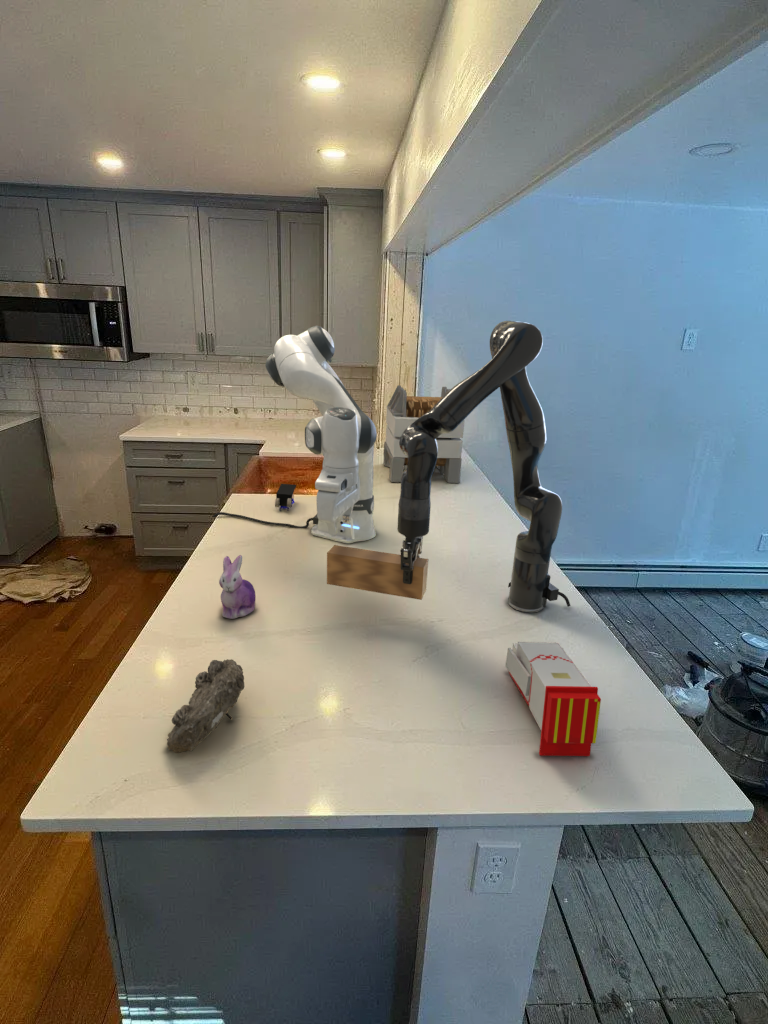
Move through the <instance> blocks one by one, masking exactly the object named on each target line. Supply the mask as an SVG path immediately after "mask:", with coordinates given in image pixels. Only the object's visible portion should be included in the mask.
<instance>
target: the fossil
mask: <svg viewBox="0 0 768 1024" xmlns="http://www.w3.org/2000/svg"><path fill="white" fill-rule="evenodd" d="M243 670H244V669H243V667H242V665H240V664H237V662H236V661H235V660H234V659H232V658H231V659H227V658H226V659H224V660H223V661H222V660H217V659H212V660H211V661H210V663H209V665H208V666H207V671H201V672H199V673H198V674H197V675H196V676H195V680H194V684H195V685H194V687H195V689H194V690H193V693H192V694H191V697H190V698H189V700H188V704H184V705H182V706H181V707H180V709H177V710H176V711H175V713H174V715H173V716H172V718H171V723H172V724H173V727H172V730H171V731H170V732H168V734H167V738H166V741H167V742H166V745H167V749H168V750H169V751H173V752H174V753H176V754H178V753H182V752H188V751H189V752H192V751H193V750H195V748H196V747H197V746H199V744H200V743H201V742H203V741H204V740H205V739H206V738H207V737H208V736H209V735H210V734H211V733H212V732H214V730H215V729H217V727H218V726H219V724H220V722H221V721H222V720H223V719H224V718H225V716H226V717H227V719H229V720H233V717H232V715H230V714H229V710H230V709H231V708H234V706H235V704H236V703H237V702H238V699H239V697H240V695H241V693H242V691H243V690H245V689H244V688H245V675H244V671H243Z"/></svg>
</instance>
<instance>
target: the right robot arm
mask: <svg viewBox="0 0 768 1024" xmlns="http://www.w3.org/2000/svg"><path fill="white" fill-rule="evenodd" d="M543 343H544V337H543V334H542V332H541V330H540V329H539V328H538V327H537V326H536V325H535V324H532V323H529V322H523V321H516V320H503V321H500V322H499V323H497V324H496V325H495V326H494V327H493V329H492V331H491V334H490V336H489V352H490V356H491V359H490V360H489V361H488V362H487V363H486V364H484V365H483V366H482V367H481V368H480V369H478V370H477V371H475V372H474V373H472V374H470V375H469V376H467V377H466V378H464V379H463V380H461V381H460V382H458V383H457V384H455V385H454V386H452V388H449V389H450V390H449V391H448V392H447V393H446V394H445V395H444V396H443V397H442V398H441V399H440V401H439V402H438V403H437V404H436V405H435V406H434V407H433V408H432V409H431V410H430V411H429V412H427V413H426V414H424V415H423V416H421V417H420V418H419V419H417V420H416V421H414V422H413V423H412V424H411V425H409V426H408V427H407V428H406V429H405V431H404V432H403V433H402V435H401V437H400V440H399V446H400V449H401V451H402V452H403V453H404V454H405V455H406V456H408V465H406V469H405V470H403V474H402V477H401V482H400V490H399V491H400V492H399V493H400V494H399V500H398V511H397V532H398V533H399V534H400V535H402V536H404V537H405V539H403V540H402V545H401V548H400V555H401V567H400V568H401V570H403V583H405V584H411V583H412V578H413V569H414V561H416V560H417V557H418V558H421V554H422V553H423V552H422V549H423V540H424V537H425V536H427V535H428V534H429V532H430V523H431V522H430V521H431V505H432V504H431V491H432V478H433V476H434V475H433V474H434V471H435V468H436V466H435V465H436V461H437V456H438V445H437V441H436V438H438V437H439V436H440V435H441V434H445V433H451V432H452V431H453V430H455V429H456V428H457V427H458V426H459V425H460V424H461V423H462V422H463V420H466V419H467V417H468V416H470V414H471V413H472V412H473V411H474V410H475V409H477V407H478V406H480V405H481V404H482V403H483V402H484V401H485V400H486V399H487V398H488V397H490V396H491V395H492V394H493V393H495V391H496V390H498V389H499V391H500V399H501V405H502V411H503V416H504V422H505V423H504V424H505V430H506V431H505V432H506V438H507V444H508V447H509V448H508V449H509V454H510V455H509V457H510V462H511V468H512V479H513V501H514V507H515V510H516V512H517V514H518V515H519V516H520V517H522V518H523V519H525V520H527V521H528V522H529V528H528V530H525V531H521V532H519V533H518V534H517V536H516V539H515V548H514V555H513V562H512V572H511V577H510V578H511V579H510V581H509V582H508V588H509V593H508V598H507V604H508V605H509V606H510V607H511V608H512V609H514V610H516V611H518V612H521V613H538V612H541V611H542V610H543V608H547V603H548V601H549V602H552V601H558V599H559V598H558V597H559V596H560V597H561V598H562V599H563V600H564V601H565V604H566V606H567V607H568V608H570V607H571V603H570V600H569V598H568V596H566V594H565V593H563V592H561V591H560V589H559V588H558V587H557V586H555V585H554V584H553V583H551V582H550V581H551V575H550V574H549V569H550V568H549V567H550V561H551V555H552V550H553V545H554V543H555V541H556V540H557V537H558V533H559V528H560V525H561V524H560V523H561V519H562V514H563V501H562V498H561V496H560V495H559V494H557V493H555V492H554V491H551V490H549V489H547V488H544V487H543V486H542V484H541V481H540V474H539V462H540V459H541V457H542V455H543V453H544V450H545V447H546V444H547V429H546V420H545V414H544V411H543V408H542V405H541V404H540V401H539V399H538V398H537V395H536V393H535V391H534V389H533V387H532V385H531V383H530V380H529V377H528V373H527V366H529V365H530V364H531V363H532V362H533V361H534V360H536V358H537V357H538V356H539V354H540V353H541V351H542V348H543ZM406 563H408V564H409V565H406Z"/></svg>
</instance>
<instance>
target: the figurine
mask: <svg viewBox="0 0 768 1024" xmlns="http://www.w3.org/2000/svg"><path fill="white" fill-rule="evenodd" d="M222 560H223V561H222V571H223V572H222V573H221V575H220V578H219V579H218V585H219V587H220V588H221V589H222V591H221V593H220V602H221V605H222V614H221V615H222V617H223V618H226V619H237V618H241V617H245V616H247V615H249V614H251V613H253V612H254V611H255V607H256V590H255V588H254V586H253V585H254V584H252V583H251V582H250V581H249V580H247V579H243V577H242V575H241V573H240V570H241V568H242V564H243V555H241V554H239V555H237V557H236V558H234V560H233V562H232V561H231V558H230V556H228V555H226V556H224V557H223V559H222Z"/></svg>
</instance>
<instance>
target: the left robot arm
mask: <svg viewBox="0 0 768 1024" xmlns="http://www.w3.org/2000/svg"><path fill="white" fill-rule="evenodd" d="M335 350H336V348H335V342H334V340H333V337H332V336H331V333H330V332H329V331H327V330H326V329H325V328H323V326H320V325H313V326H310V327H308V328H307V330H305V331H303V332H301V333H299V334H297V335H296V334H287V335H286V334H285V335H283V336H281V337H280V338H279V339H278V340H277V341H276V342H275V344H274V347H273V352H272V353H271V354H270V355H269V356H268V357H267V358H266V359H265V364H264V365H265V369H266V372H267V374H268V377H269V378H270V379H271V380H272V381H273V382H274V383H275V384H276V385H277V386H280V387H282V388H285V389H286V390H287V391H288V392H289V393H290V394H291V395H293V396H295V397H297V398H300V399H305V400H312V402H313V403H314V405H315V407H316V408H317V410H318V412H320V414H321V416H318V417H315V418H311V419H310V420H309V421H308V423H307V424H306V426H305V427H304V444H305V447H306V448H307V449H308V450H309V451H310V452H311V453H313V454H314V455H317V456H318V455H319V456H323V459H322V460H323V461H322V469H321V470H320V473H319V475H318V477H317V479H316V480H315V481H314V489H315V490H317V493H316V514H315V515H314V516H313V517H309V518H307V520H306V521H305V523H306V524H305V525H303V526H299V525H294V524H290V523H283V522H282V523H281V522H273V521H267V520H263V519H257V518H254V517H251V516H246V515H241V514H236V513H229V512H224V511H220V512H216V513H214V514H213V515H212V518H217V517H218V516H227V517H234V518H239V519H243V520H248V521H252V522H256V523H260V524H264V525H270V526H276V527H277V526H278V527H288V528H293V529H307V528H309V526H310V522H311V521H312V525H313V526H312V528H311V530H310V533H311V536H315V537H319V538H323V539H326V540H330V541H336V542H339V543H343V544H352V543H357V542H365V541H368V540H372V539H373V538H375V537H376V535H377V532H376V528H375V523H374V513H373V512H374V509H375V496H374V458H375V457H374V453H375V452H374V451H375V450H374V449H375V444H376V441H377V437H378V435H377V428H376V425H375V423H374V421H373V420H372V419H371V418H370V417H369V416H368V415H367V414H366V413H365V412H364V411H363V410H362V409H361V407H360V406H359V405H358V403H357V402H356V401H355V399H354V398H353V396H352V395H351V394H350V392H349V391H348V390H347V388H346V386H345V385H344V384H343V382H342V380H341V379H340V377H339V376H338V374H337V373H336V371H335V370H334V369H333V368H332V366H331V365H330V363H332V358H333V357H334V355H335V352H336V351H335ZM328 362H329V363H328Z"/></svg>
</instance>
